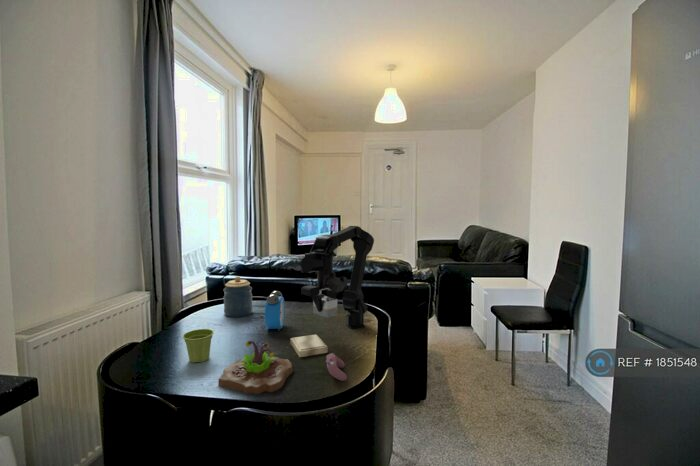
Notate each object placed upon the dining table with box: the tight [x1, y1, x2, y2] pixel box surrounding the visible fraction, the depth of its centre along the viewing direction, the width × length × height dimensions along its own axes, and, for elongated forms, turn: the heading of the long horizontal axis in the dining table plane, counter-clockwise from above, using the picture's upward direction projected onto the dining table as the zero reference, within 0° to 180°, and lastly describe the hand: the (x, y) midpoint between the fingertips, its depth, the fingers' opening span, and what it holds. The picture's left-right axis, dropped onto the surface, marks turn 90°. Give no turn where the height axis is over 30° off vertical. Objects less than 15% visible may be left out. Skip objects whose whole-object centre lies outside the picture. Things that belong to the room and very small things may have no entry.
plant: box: [218, 340, 293, 395], centre depth 106 cm, size 20×20×11 cm
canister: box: [223, 276, 253, 318], centre depth 167 cm, size 13×13×18 cm
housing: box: [312, 293, 338, 319], centre depth 134 cm, size 5×8×7 cm, turn 46°
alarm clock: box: [264, 290, 286, 332], centre depth 147 cm, size 13×6×15 cm, turn 1°
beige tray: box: [289, 334, 329, 358], centre depth 127 cm, size 10×13×2 cm
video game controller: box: [325, 352, 348, 382], centre depth 107 cm, size 10×5×7 cm, turn 5°
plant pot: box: [182, 328, 215, 364], centre depth 117 cm, size 9×9×9 cm
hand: (324, 310), depth 134 cm, fingers closed on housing, 5 cm apart
